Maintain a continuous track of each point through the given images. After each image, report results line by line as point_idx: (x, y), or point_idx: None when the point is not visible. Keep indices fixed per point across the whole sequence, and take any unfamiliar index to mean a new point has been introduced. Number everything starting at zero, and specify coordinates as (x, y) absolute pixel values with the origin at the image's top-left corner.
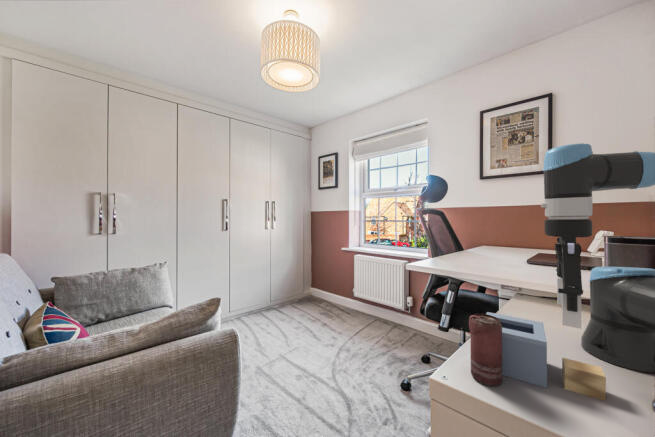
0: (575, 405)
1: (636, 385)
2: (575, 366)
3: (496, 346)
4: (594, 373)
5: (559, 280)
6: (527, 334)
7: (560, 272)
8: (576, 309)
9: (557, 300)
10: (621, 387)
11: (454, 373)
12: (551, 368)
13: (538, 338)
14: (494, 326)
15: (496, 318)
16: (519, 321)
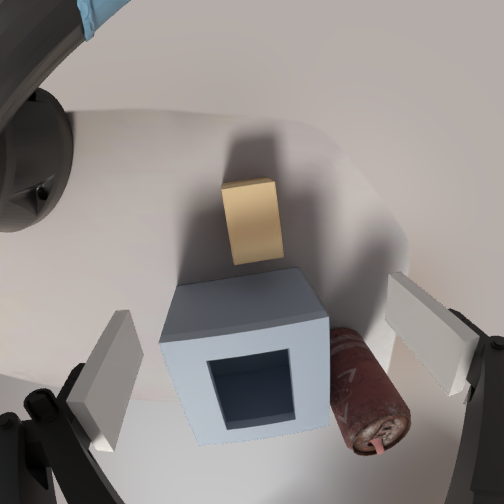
0: (324, 221)
1: (142, 127)
2: (265, 237)
3: (386, 377)
4: (273, 201)
5: (112, 436)
6: (303, 358)
7: (103, 474)
8: (460, 315)
9: (137, 367)
10: (176, 150)
11: None
12: (196, 268)
13: (314, 335)
14: (407, 410)
15: (365, 427)
16: (207, 388)
